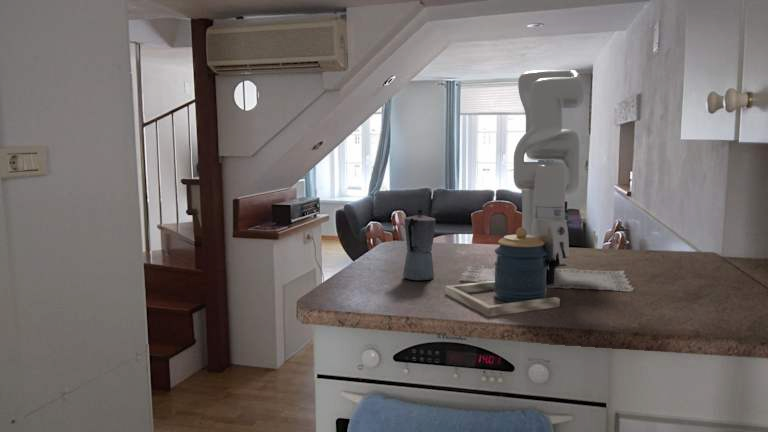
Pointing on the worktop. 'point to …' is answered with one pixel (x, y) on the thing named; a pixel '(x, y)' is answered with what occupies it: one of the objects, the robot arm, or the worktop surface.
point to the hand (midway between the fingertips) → (547, 283)
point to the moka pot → (419, 247)
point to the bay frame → (500, 309)
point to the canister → (520, 268)
